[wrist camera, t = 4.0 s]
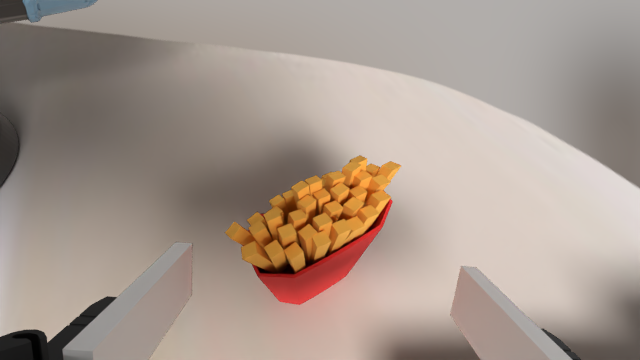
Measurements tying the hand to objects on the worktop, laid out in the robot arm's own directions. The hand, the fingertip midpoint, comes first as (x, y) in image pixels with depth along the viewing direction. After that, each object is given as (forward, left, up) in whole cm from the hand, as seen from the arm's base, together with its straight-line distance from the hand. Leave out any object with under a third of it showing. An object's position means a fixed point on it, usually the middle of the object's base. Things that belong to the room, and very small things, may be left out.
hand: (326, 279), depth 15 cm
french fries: (-3, 0, -8) cm, 9 cm away
